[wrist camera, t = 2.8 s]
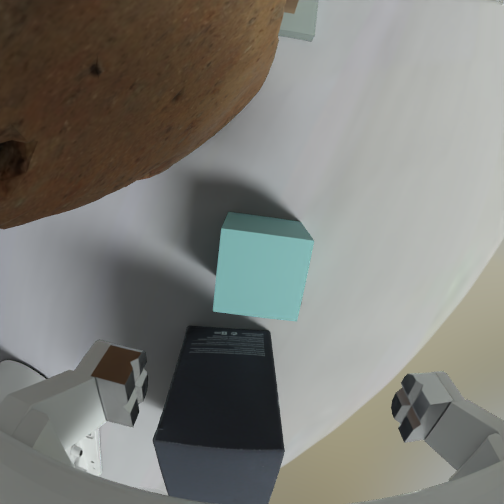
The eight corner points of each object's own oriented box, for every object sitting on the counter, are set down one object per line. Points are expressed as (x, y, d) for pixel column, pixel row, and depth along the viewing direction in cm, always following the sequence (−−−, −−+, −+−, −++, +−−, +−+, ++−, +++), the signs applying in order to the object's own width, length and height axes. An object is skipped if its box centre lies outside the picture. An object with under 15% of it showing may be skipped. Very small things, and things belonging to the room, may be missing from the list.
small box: (259, 431, 28) (261, 530, 16) (193, 426, 28) (175, 523, 16) (273, 328, 24) (287, 453, 12) (187, 322, 24) (146, 441, 12)
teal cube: (288, 287, 23) (296, 321, 18) (220, 278, 22) (212, 311, 18) (300, 221, 21) (314, 240, 16) (228, 211, 21) (221, 228, 16)
